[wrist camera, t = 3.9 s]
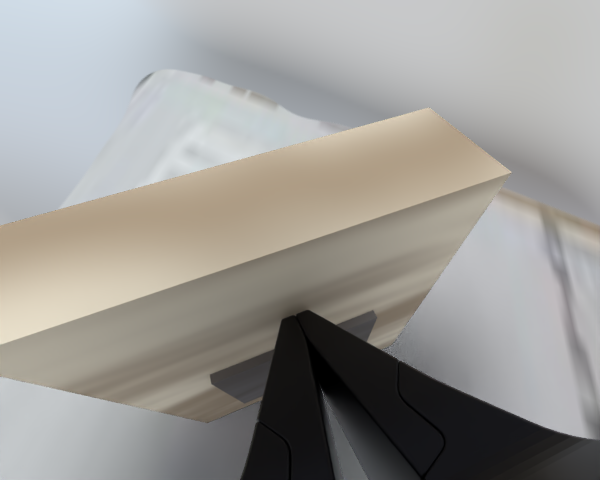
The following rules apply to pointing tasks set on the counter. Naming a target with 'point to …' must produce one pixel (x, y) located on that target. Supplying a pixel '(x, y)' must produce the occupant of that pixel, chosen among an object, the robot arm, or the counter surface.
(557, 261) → the counter surface
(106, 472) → the counter surface
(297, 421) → the robot arm
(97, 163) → the counter surface
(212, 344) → the birch slab
